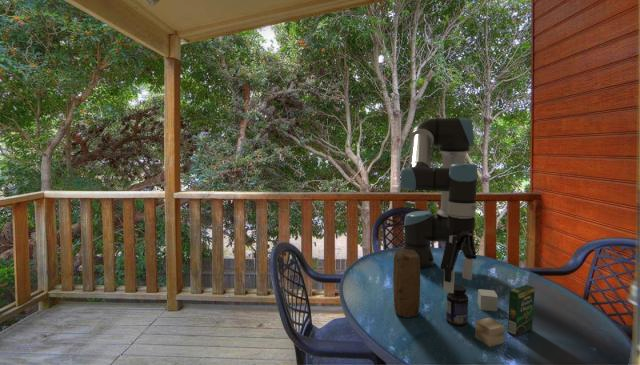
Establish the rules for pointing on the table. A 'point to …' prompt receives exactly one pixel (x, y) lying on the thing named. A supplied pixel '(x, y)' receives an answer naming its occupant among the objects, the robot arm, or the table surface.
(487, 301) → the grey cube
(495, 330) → the birch cube
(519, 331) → the coffee box
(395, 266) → the block
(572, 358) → the table surface
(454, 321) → the pill bottle
